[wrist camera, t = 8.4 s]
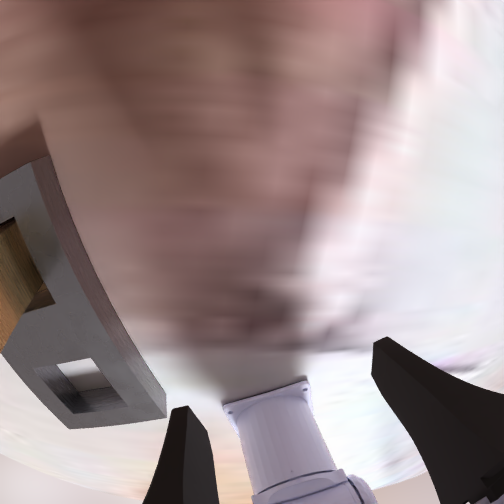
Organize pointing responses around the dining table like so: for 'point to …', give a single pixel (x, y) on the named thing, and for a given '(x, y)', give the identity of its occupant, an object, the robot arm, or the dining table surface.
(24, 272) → the wooden peg
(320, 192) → the dining table surface
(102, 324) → the steel frame
